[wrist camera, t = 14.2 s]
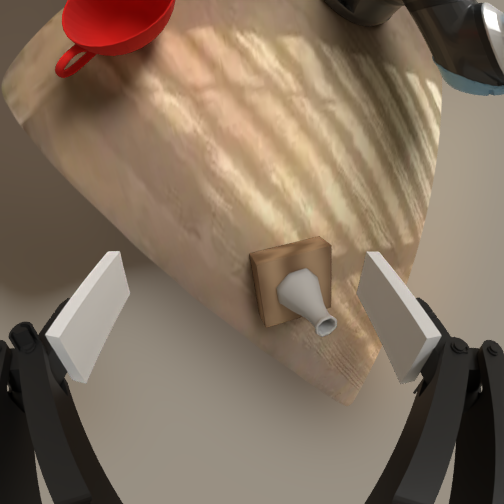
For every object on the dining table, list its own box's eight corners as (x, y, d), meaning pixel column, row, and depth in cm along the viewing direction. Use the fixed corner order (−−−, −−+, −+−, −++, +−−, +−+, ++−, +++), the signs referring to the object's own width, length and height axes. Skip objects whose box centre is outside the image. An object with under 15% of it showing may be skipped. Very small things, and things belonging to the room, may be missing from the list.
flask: (308, 259, 41) (342, 293, 32) (324, 291, 44) (355, 326, 36) (267, 285, 41) (292, 326, 32) (287, 315, 44) (312, 356, 36)
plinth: (319, 236, 45) (331, 245, 41) (320, 295, 50) (330, 307, 46) (249, 253, 43) (256, 264, 39) (259, 314, 48) (266, 327, 44)
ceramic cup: (51, 66, 23) (19, 51, 14) (133, -18, 21) (125, -52, 12) (109, 108, 29) (86, 99, 20) (195, 20, 26) (202, -13, 18)
